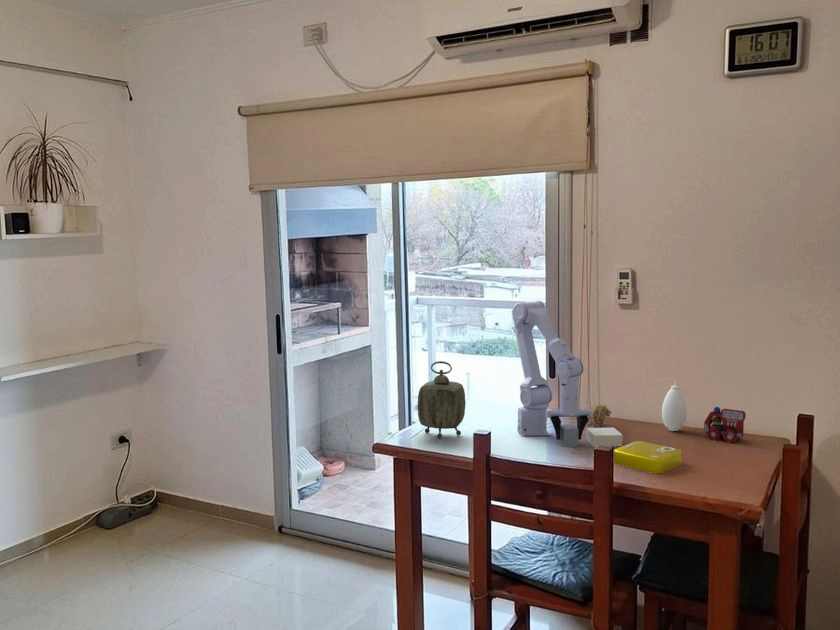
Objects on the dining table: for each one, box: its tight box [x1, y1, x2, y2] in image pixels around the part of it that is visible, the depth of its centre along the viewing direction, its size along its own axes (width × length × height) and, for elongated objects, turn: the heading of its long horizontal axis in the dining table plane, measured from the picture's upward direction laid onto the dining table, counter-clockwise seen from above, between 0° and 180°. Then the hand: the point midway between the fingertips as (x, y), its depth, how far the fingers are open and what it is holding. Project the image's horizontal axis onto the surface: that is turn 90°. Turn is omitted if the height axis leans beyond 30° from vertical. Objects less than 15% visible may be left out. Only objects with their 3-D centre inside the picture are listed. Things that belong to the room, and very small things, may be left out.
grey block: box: [558, 423, 579, 447], centre depth 231 cm, size 4×6×6 cm
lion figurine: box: [587, 404, 612, 428], centre depth 251 cm, size 15×5×9 cm, turn 9°
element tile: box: [613, 440, 683, 474], centre depth 211 cm, size 15×15×5 cm
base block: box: [585, 427, 624, 448], centre depth 232 cm, size 9×9×4 cm
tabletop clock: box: [416, 360, 467, 439], centre depth 238 cm, size 14×9×25 cm, turn 75°
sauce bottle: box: [661, 377, 688, 432], centre depth 245 cm, size 8×8×18 cm
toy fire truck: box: [703, 406, 747, 444], centre depth 235 cm, size 7×12×10 cm, turn 49°
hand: (568, 439), depth 231 cm, fingers open, 6 cm apart
